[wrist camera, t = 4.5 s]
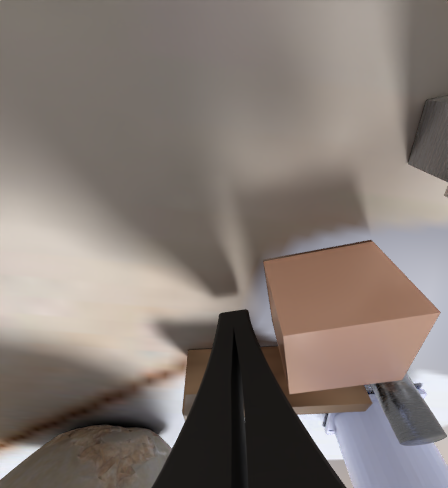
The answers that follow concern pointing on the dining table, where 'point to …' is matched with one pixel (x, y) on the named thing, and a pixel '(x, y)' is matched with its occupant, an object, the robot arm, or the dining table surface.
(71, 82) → the dining table surface
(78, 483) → the ceramic bowl
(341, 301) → the block
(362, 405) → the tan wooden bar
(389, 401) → the grey blocks
